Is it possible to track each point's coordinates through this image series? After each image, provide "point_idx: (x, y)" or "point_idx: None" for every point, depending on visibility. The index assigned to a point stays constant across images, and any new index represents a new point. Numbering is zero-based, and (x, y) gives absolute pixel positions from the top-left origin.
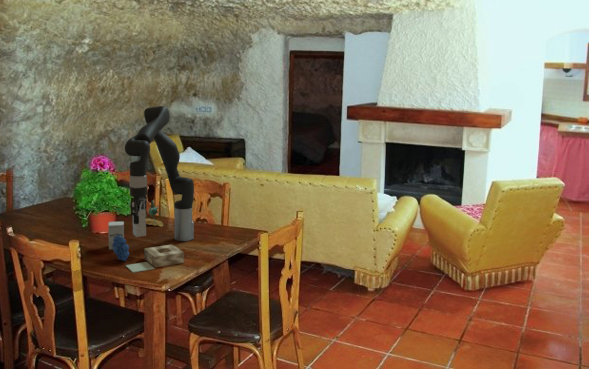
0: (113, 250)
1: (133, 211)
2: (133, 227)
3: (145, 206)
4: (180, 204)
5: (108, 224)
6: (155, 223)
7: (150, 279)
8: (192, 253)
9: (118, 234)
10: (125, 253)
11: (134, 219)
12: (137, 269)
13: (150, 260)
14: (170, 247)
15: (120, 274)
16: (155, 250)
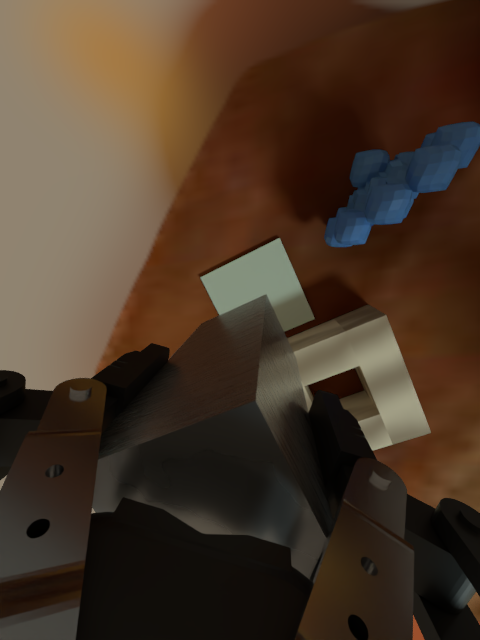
0: (355, 158)
1: (39, 428)
2: (247, 313)
3: (423, 629)
4: None
5: None
6: None
7: (138, 341)
8: (403, 471)
9: None
10: (329, 229)
11: (105, 374)
12: (226, 291)
13: (302, 336)
14: (382, 425)
15: (184, 231)
16: (347, 366)
